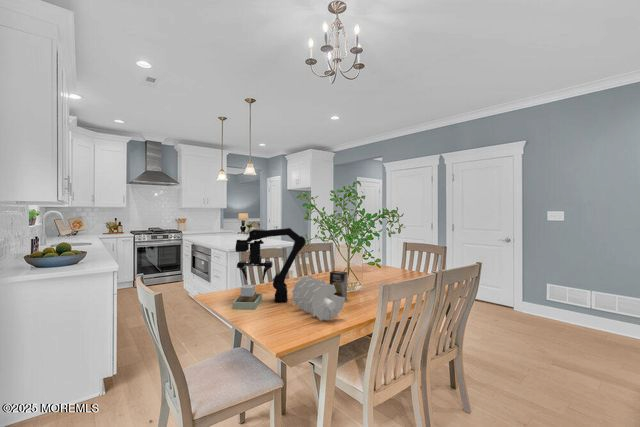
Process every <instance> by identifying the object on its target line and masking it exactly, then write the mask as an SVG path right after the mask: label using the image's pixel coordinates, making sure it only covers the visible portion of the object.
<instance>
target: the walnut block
mask: <svg viewBox="0 0 640 427" xmlns="http://www.w3.org/2000/svg"><path fill="white" fill-rule="evenodd" d="M256 293H257V292H256ZM256 293H255V294H254V295H253V296H241V295H240V294H239V295H240V296H239V295H238V296H239V302H255V301H256Z"/></svg>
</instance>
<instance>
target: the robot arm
mask: <svg viewBox="0 0 640 427" xmlns="http://www.w3.org/2000/svg"><path fill="white" fill-rule="evenodd" d="M248 235H249V236H248V237H247V238H246V239H236V242H235V248H234V249H235V253H247V252H248V251H249V255H248V261H249V262H247V261H246V260H244V261H243V260H242V261H241V260H240V261H238V262H237V264H236V268H237V269H238V270H241V272H242V274H243V277H244V279H245V280H246V281H248V271H247V267H264V268H263V273H262V281H265V279H266V278H265V277H266V274H267V272H268V270H270V269H271V268H273V266H274V265H273V261H271V260H268V261H267V260H265V261H264V262H262V256H261V245H264V243H265V242H264V241H263V240H262V239H264V238H271V237H281V236H288V237H289V238H291V240H293V241H294V242H293V244H292V245H293V246H292V249H291V250H290V252H289V255H288V257H287V258H286V260H285V261H284V264H283V265H282V268H281V270H279V272H275V275H274V277H273V278H272V287H273V288H274V289H275V293H274V302H275V303H280V304H281V303H282V304H283V303H287V304H288V301H289V299H288V285H287V284H286V282H285V281H286V277H287V274H288V272H289V270H290V269H291V267H292V264H294V261H295V259H296V257H297V255H298V253H300V251H301V250H302V249H303V247H304V246H305V245H306V241H307V240H306V238H305V237H304V235H299V234H298V233H296V232H295V231H294V230H293V229H292V228H291V227H287V228H285V227H283V228H276V229H275V228H274V229H262V228H259V229H257V228H254V229H252V230H250V232H249V234H248Z"/></svg>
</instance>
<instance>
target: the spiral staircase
mask: <svg viewBox="0 0 640 427" xmlns="http://www.w3.org/2000/svg"><path fill="white" fill-rule="evenodd" d="M291 293H292V302H294V306H297V307H298V308H299V309H301V311H303V310H304V311H305V312H306V313H308V314H310V315H311V316H312V317H316V318H317V319H319V321H321V322H322V321H331V320H332V319H334V318H336V317H338V315H339V314H340V313H341V311H342V310H343V308H344V304H345V302H346V300H345V298H344V297H338V296H337V295H334V293H336V289H335V286H334V285H331V284H330V282H328V281H327V282H326V281H324V280H323V279H321V280H320V278H319V279H316V278H315V277H314V276H313V277H312V276H310V275H309V274H307V275H306V276H300V278H299V280H297V281H295V282H294V287H293V288H292V290H291Z"/></svg>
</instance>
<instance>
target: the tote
mask: <svg viewBox="0 0 640 427" xmlns="http://www.w3.org/2000/svg"><path fill="white" fill-rule="evenodd" d="M240 295H241V293H240V294H239V295H238V296H237V297H236V298H235V300H233V302H232V310H251V311H254V310H257V308H258V307H259V305H260V303H261V302H262V300H263V293H262V292H261V293H260V292H258V293H257V292H256V301H255V302H239V296H240Z"/></svg>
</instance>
